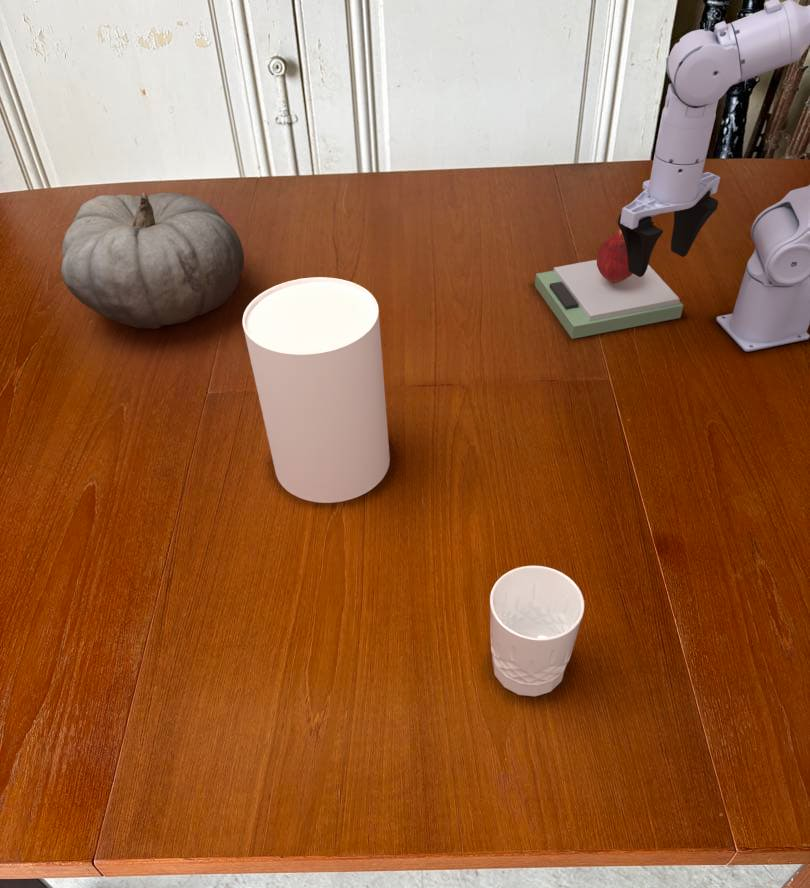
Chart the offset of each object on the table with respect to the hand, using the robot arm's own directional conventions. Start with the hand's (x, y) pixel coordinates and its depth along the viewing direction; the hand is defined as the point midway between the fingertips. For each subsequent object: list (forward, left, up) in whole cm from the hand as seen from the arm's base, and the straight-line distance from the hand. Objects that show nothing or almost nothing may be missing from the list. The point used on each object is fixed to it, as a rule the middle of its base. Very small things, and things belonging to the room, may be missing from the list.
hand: (657, 263), depth 103 cm
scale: (+2, -8, -10) cm, 13 cm away
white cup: (+34, +46, -10) cm, 58 cm away
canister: (+46, +13, -10) cm, 49 cm away
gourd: (+63, -28, -10) cm, 70 cm away
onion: (+1, -8, -7) cm, 11 cm away
